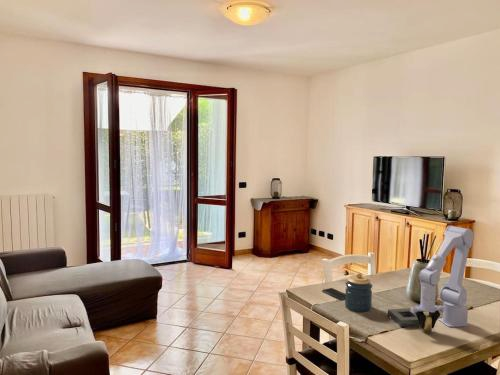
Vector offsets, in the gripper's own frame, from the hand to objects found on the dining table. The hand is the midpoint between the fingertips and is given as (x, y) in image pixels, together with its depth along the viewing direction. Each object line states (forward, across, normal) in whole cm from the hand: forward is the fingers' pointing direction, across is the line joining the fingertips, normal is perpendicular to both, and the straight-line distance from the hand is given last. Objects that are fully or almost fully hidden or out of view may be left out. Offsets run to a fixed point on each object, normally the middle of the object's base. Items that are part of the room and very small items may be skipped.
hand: (426, 327), depth 163 cm
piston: (+2, 0, 0) cm, 2 cm away
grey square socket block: (+2, -3, +11) cm, 12 cm away
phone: (+2, -24, +46) cm, 52 cm away
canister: (+2, -19, +28) cm, 34 cm away
